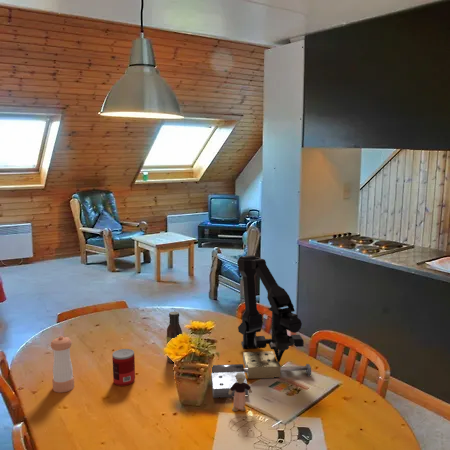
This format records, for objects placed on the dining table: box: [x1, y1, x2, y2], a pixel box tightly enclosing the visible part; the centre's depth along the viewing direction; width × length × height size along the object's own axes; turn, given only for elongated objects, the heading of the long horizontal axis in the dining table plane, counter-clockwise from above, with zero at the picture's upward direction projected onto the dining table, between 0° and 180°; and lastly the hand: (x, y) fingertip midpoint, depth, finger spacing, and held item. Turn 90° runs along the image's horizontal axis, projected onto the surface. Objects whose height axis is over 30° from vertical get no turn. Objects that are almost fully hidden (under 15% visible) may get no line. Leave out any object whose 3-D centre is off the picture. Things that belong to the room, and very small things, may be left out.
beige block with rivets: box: [242, 350, 282, 380], centre depth 182 cm, size 16×12×4 cm
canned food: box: [112, 348, 136, 387], centre depth 172 cm, size 8×8×11 cm
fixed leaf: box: [210, 363, 312, 399], centre depth 170 cm, size 16×37×5 cm, turn 95°
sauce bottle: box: [166, 311, 183, 364], centre depth 188 cm, size 7×6×20 cm
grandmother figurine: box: [228, 372, 253, 412], centre depth 153 cm, size 8×4×13 cm, turn 106°
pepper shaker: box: [50, 335, 75, 393], centre depth 167 cm, size 7×7×19 cm
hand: (278, 361), depth 186 cm, fingers closed
